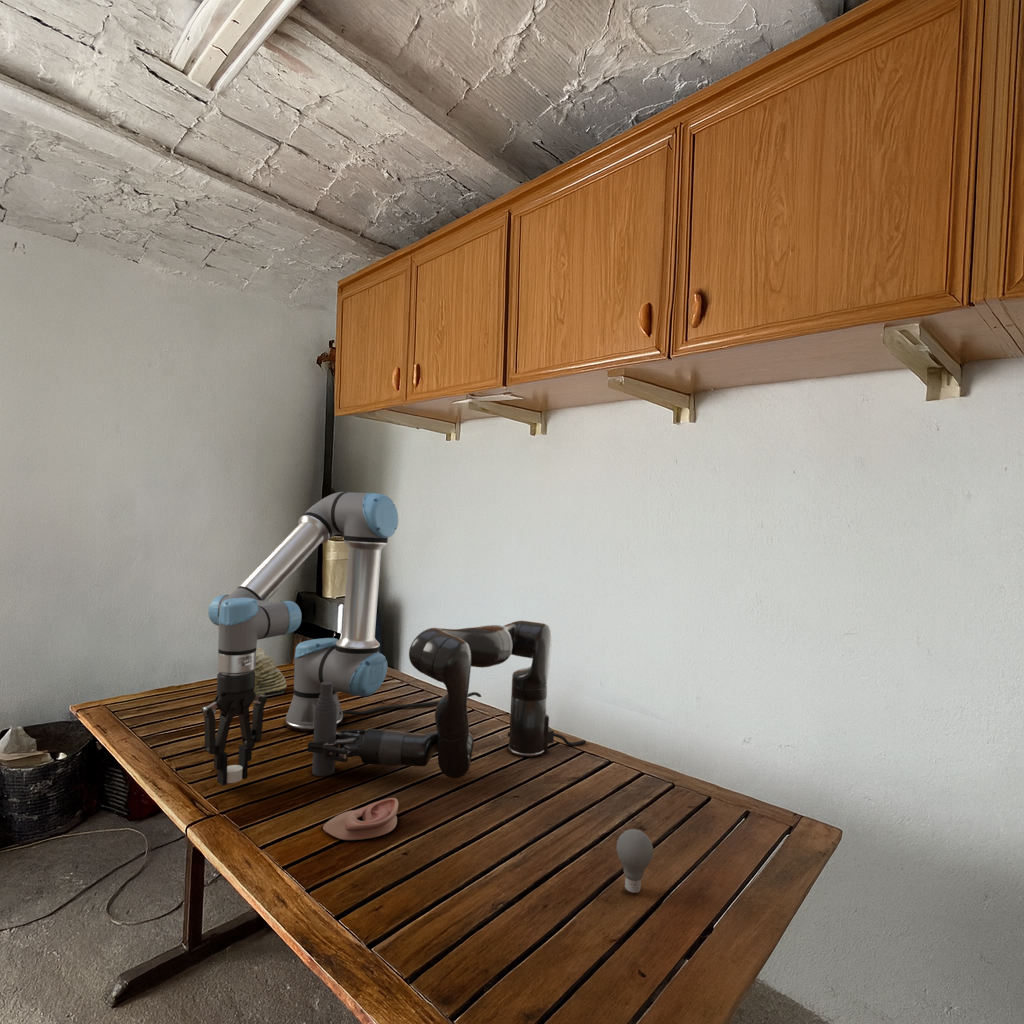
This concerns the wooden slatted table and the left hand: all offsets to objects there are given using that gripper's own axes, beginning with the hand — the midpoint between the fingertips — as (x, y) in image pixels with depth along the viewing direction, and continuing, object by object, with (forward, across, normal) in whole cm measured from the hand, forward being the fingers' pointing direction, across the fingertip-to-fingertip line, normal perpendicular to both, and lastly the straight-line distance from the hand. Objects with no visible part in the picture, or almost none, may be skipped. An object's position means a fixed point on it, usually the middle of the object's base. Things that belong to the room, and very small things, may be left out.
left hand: (232, 779), depth 136 cm
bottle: (+2, +19, -6) cm, 20 cm away
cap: (-2, 0, 0) cm, 2 cm away
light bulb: (+2, +30, -80) cm, 86 cm away
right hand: (-5, +17, -4) cm, 18 cm away
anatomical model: (+2, +10, -32) cm, 34 cm away
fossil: (+2, +33, +56) cm, 66 cm away
